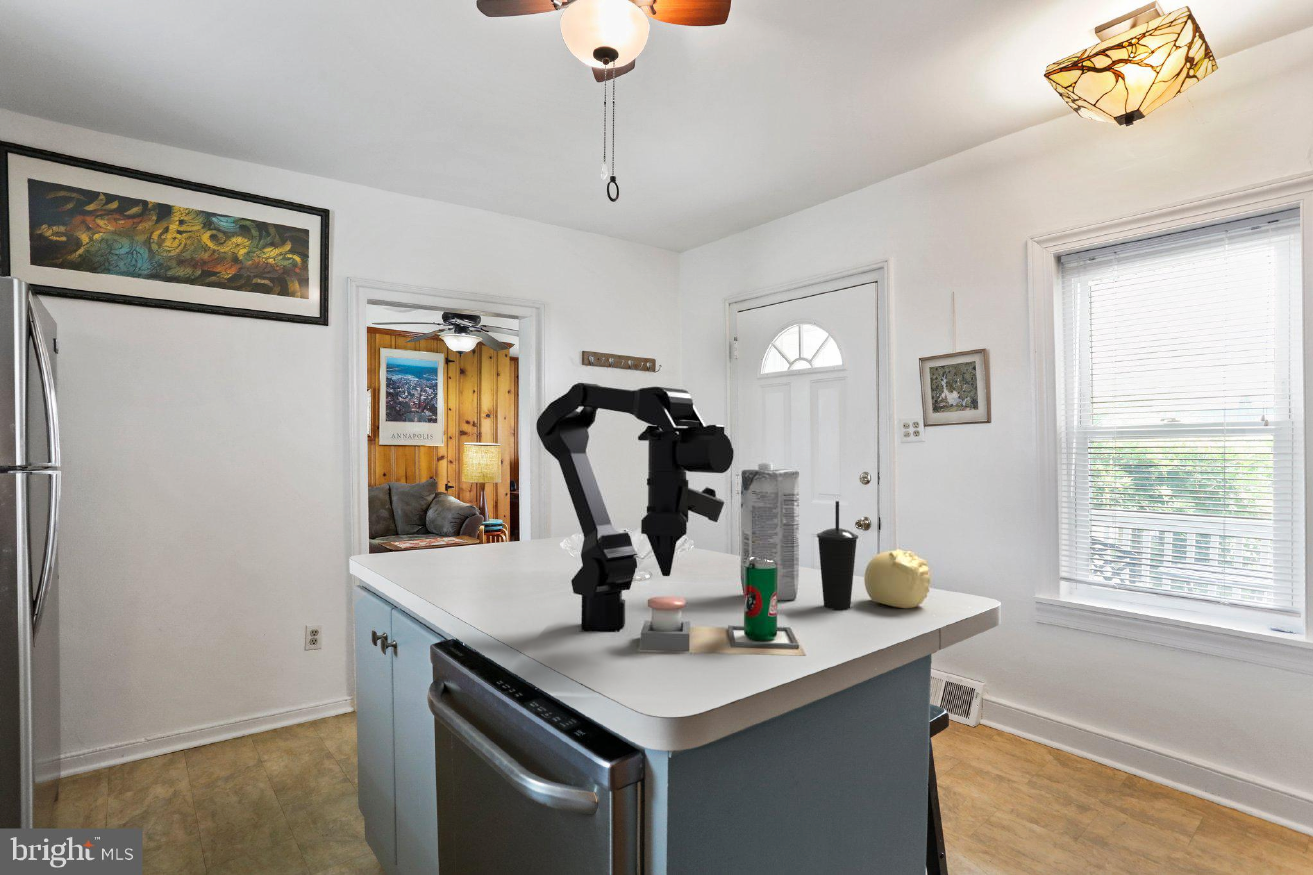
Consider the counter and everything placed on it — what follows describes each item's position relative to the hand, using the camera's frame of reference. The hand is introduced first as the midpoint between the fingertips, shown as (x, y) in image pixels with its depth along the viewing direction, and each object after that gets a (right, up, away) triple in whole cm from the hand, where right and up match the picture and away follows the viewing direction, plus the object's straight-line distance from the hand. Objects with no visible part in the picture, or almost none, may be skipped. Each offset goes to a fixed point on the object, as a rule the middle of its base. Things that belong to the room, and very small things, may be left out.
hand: (666, 575), depth 100 cm
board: (+8, -11, +2) cm, 14 cm away
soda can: (+15, -10, +3) cm, 18 cm away
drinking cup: (+33, -12, +27) cm, 44 cm away
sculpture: (+45, -12, +29) cm, 55 cm away
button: (0, -8, 0) cm, 8 cm away
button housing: (0, -10, 0) cm, 10 cm away
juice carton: (+21, -12, +34) cm, 42 cm away
